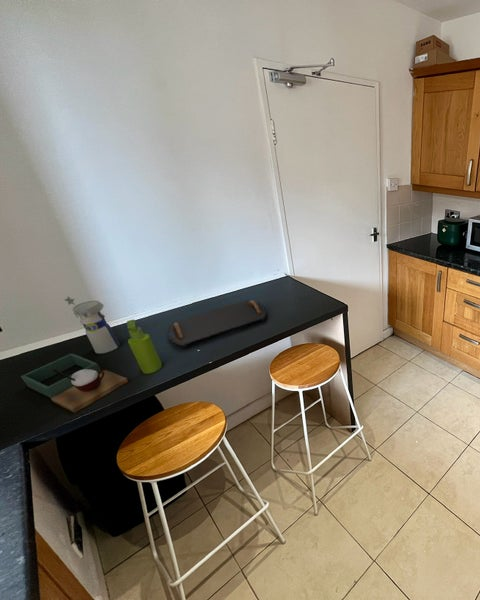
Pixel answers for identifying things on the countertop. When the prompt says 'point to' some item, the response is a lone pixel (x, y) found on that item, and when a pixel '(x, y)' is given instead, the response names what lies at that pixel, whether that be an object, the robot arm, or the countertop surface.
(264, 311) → the serving tray
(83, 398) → the cutting board
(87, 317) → the water bottle
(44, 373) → the crate
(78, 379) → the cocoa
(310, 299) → the countertop surface
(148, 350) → the soap dispenser
